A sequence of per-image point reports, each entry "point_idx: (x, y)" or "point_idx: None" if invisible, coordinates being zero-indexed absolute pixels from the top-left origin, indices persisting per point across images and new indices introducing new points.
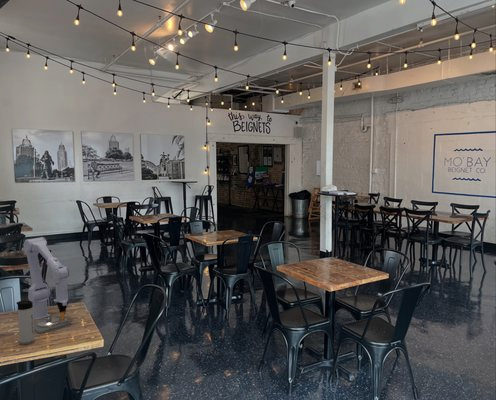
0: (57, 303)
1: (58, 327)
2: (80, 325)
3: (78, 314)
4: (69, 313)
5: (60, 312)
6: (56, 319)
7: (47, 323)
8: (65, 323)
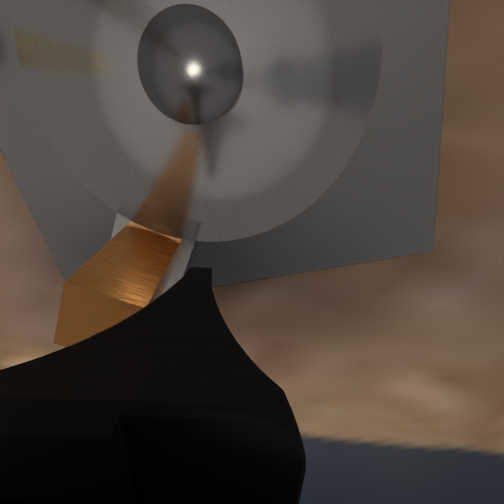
0: (38, 457)
1: (15, 159)
2: (31, 347)
3: (343, 397)
4: (441, 351)
5: (65, 293)
6: (217, 194)
7: (108, 24)
8: (81, 255)
